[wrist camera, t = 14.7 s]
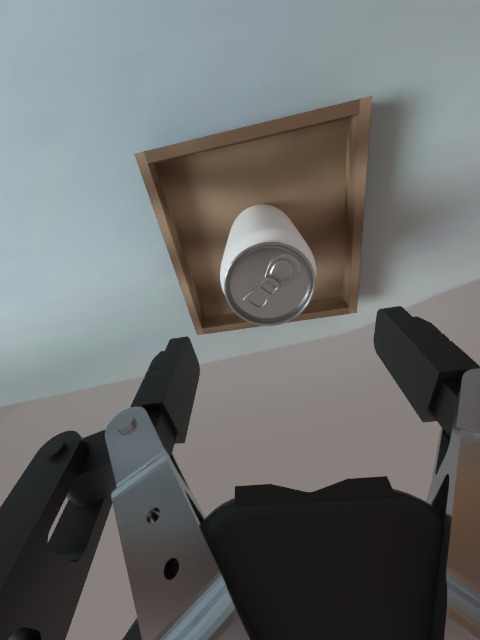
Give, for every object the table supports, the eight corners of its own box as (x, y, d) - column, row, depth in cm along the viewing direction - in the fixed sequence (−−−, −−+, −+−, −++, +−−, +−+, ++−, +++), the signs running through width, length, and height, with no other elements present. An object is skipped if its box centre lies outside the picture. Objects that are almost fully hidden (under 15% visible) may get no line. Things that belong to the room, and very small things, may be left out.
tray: (149, 154, 23) (134, 153, 20) (354, 105, 20) (372, 96, 17) (201, 319, 32) (197, 335, 29) (346, 297, 30) (356, 312, 27)
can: (306, 231, 25) (346, 279, 15) (265, 279, 28) (274, 346, 18) (256, 187, 23) (262, 208, 13) (217, 243, 26) (196, 296, 16)
